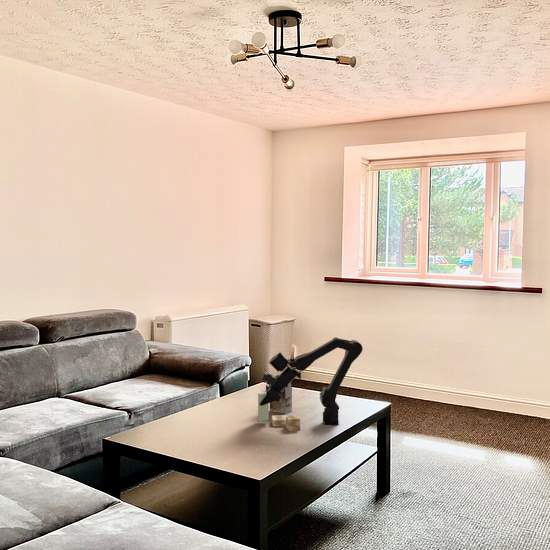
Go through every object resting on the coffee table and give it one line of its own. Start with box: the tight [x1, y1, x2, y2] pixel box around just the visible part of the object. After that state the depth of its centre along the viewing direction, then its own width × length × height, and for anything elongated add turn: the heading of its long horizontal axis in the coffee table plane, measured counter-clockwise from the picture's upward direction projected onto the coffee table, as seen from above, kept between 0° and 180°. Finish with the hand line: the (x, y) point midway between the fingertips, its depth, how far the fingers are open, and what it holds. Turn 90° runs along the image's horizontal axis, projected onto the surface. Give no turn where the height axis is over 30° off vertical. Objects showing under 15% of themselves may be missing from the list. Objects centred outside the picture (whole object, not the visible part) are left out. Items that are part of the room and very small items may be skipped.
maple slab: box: [271, 414, 289, 427], centre depth 264 cm, size 7×7×3 cm
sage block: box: [257, 390, 270, 422], centre depth 263 cm, size 4×4×12 cm
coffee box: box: [269, 375, 293, 415], centre depth 283 cm, size 9×6×16 cm
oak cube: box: [285, 415, 301, 431], centre depth 257 cm, size 5×5×5 cm
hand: (260, 403), depth 263 cm, fingers closed on sage block, 4 cm apart
